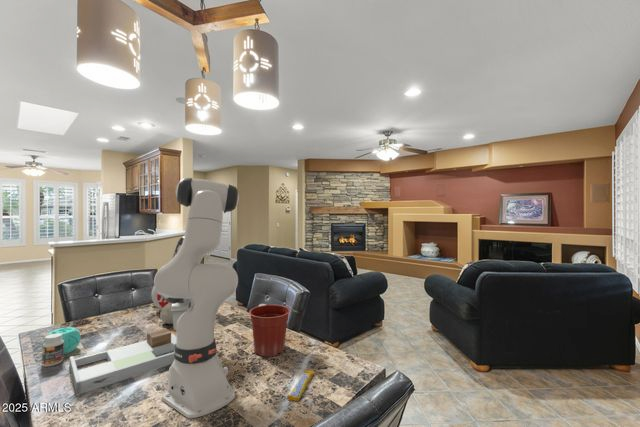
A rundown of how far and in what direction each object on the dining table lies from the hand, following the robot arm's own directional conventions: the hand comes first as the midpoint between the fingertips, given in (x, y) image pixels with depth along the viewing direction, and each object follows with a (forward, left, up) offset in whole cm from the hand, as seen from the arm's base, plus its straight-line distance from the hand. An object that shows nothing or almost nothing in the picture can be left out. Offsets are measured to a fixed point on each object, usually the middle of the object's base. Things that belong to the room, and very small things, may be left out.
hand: (182, 333), depth 123 cm
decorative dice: (+23, +37, -4) cm, 44 cm away
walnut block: (0, +9, -1) cm, 9 cm away
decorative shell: (+25, -8, -4) cm, 27 cm away
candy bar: (-60, -15, -5) cm, 62 cm away
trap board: (-6, +19, -4) cm, 20 cm away
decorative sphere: (+48, -11, -4) cm, 50 cm away
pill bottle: (+13, +40, -4) cm, 43 cm away
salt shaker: (-15, -31, -4) cm, 34 cm away
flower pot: (-32, -23, -4) cm, 39 cm away
